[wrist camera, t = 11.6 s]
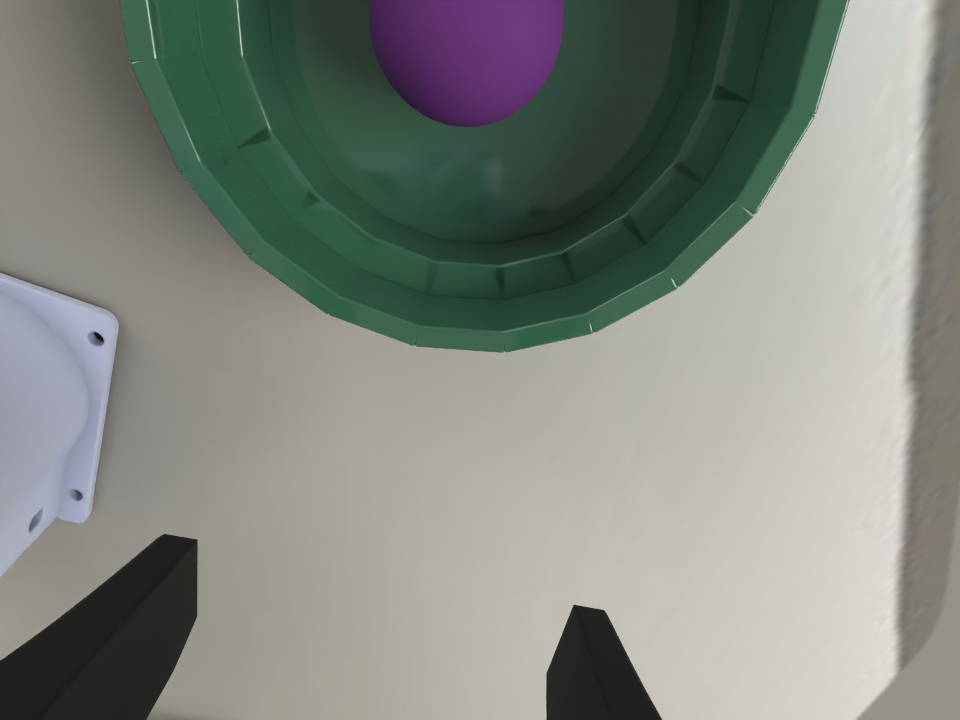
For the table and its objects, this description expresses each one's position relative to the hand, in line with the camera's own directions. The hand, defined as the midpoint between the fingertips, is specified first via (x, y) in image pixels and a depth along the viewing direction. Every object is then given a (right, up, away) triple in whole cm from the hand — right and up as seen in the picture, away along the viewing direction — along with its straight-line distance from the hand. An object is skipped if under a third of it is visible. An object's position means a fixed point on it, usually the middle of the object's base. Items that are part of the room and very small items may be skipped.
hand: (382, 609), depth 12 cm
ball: (+2, +12, +2) cm, 13 cm away
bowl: (+2, +14, +5) cm, 15 cm away
